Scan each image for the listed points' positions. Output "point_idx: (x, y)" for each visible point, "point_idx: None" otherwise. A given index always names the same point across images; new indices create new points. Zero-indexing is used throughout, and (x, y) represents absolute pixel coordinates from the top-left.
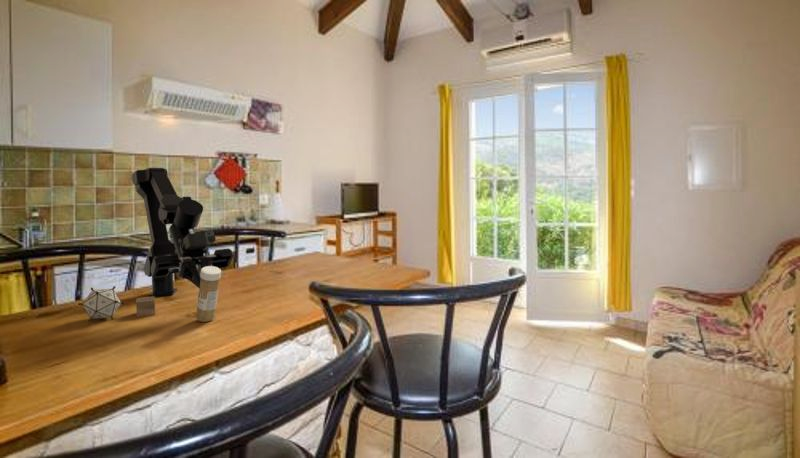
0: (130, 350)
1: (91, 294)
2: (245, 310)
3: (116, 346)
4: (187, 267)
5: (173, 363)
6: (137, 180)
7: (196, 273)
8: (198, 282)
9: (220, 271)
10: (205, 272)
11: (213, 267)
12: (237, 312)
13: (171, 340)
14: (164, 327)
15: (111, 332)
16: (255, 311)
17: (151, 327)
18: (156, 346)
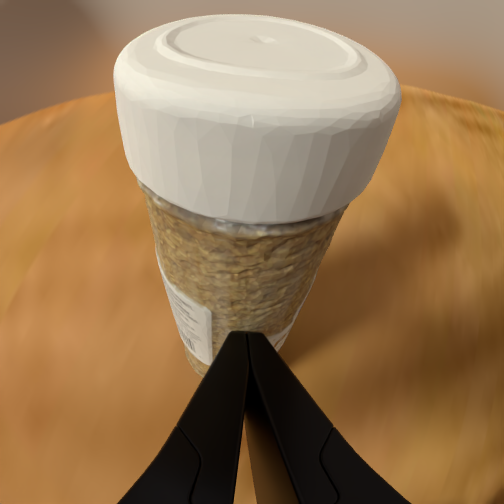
0: (477, 225)
1: None
2: (38, 331)
3: (498, 281)
4: None
5: (403, 89)
6: None
7: (318, 464)
8: (292, 381)
9: (167, 23)
10: (351, 41)
11: (190, 57)
12: (72, 334)
13: (398, 211)
14: (388, 368)
15: (491, 417)
16: (24, 282)
17: (417, 399)
18: (433, 200)
